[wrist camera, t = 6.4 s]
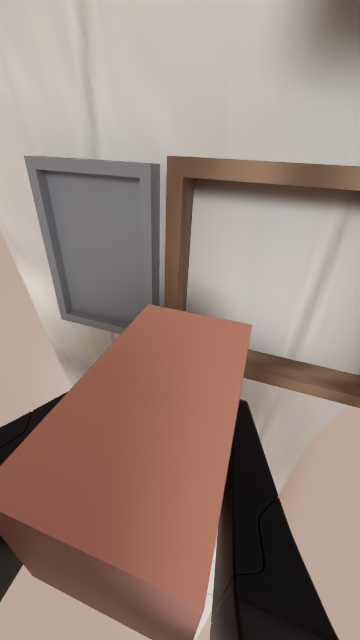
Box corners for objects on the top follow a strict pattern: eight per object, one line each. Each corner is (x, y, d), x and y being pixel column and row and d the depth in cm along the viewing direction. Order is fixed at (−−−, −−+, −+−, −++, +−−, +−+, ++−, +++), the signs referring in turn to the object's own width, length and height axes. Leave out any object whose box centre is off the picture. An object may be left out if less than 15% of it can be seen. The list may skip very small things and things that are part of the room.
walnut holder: (509, 175, 13) (550, 177, 11) (373, 389, 21) (383, 414, 19) (181, 156, 17) (167, 155, 15) (173, 340, 25) (163, 356, 23)
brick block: (251, 325, 10) (204, 609, 4) (234, 401, 13) (186, 658, 6) (148, 304, 11) (-29, 497, 5) (150, 378, 14) (32, 576, 7)
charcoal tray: (159, 163, 18) (150, 164, 16) (159, 333, 25) (152, 341, 24) (39, 156, 20) (23, 155, 19) (71, 312, 28) (61, 319, 26)
